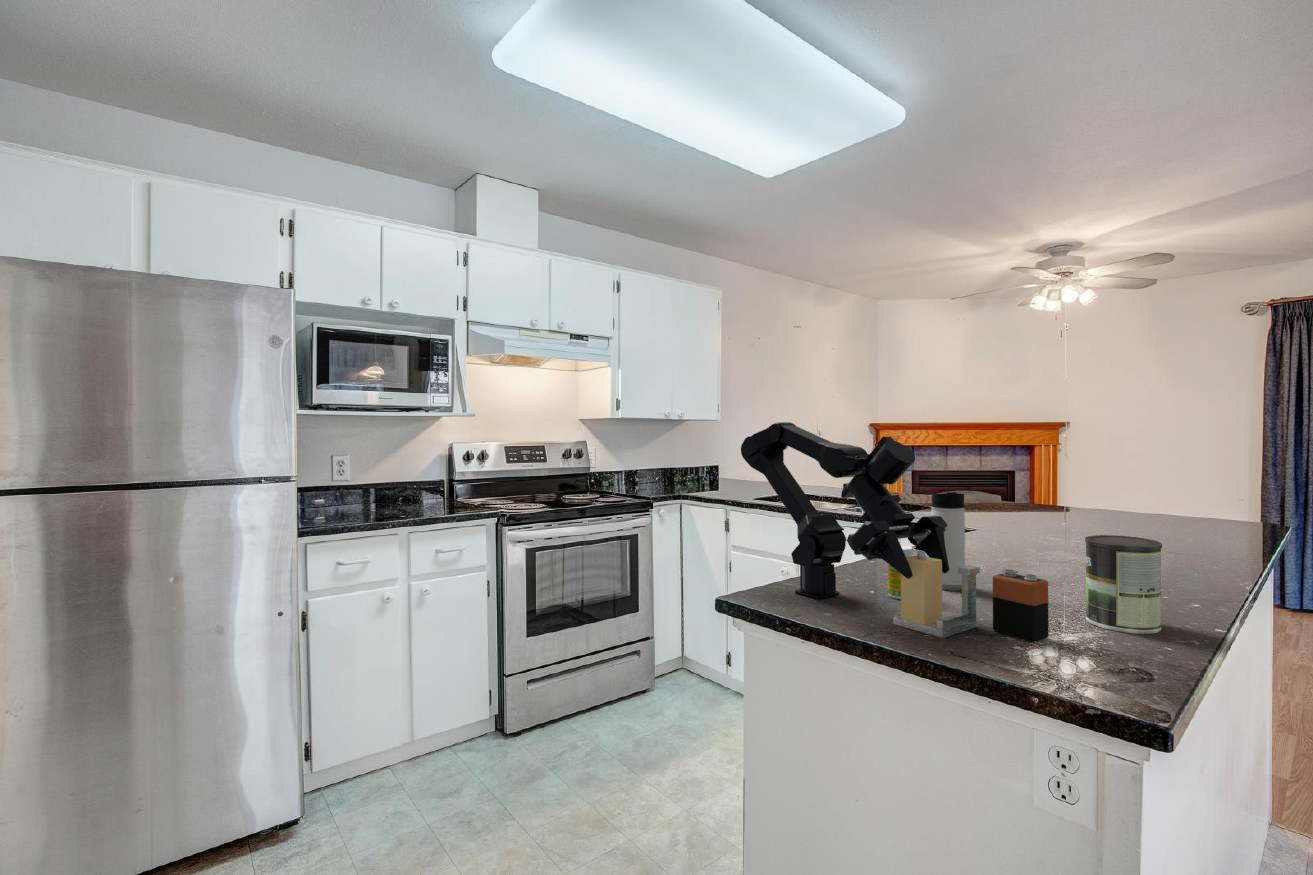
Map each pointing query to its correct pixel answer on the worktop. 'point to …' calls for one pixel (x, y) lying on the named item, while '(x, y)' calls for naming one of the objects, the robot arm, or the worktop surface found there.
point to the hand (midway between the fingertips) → (929, 574)
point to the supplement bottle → (897, 576)
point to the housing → (922, 590)
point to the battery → (1020, 605)
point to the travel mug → (952, 535)
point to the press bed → (949, 622)
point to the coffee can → (1123, 583)
